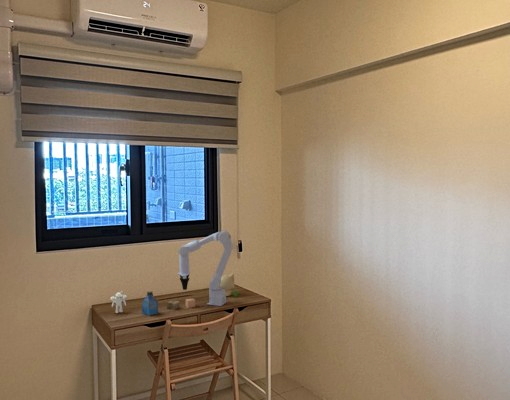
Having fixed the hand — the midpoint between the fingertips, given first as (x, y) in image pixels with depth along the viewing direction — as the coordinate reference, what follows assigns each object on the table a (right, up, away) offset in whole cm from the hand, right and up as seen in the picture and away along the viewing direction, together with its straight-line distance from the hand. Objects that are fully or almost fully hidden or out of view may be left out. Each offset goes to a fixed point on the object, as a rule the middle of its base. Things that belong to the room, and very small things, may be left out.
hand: (184, 288), depth 281 cm
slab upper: (-5, -9, -9) cm, 13 cm away
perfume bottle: (-17, -11, -18) cm, 27 cm away
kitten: (+24, -9, +19) cm, 32 cm away
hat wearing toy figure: (-35, -11, -16) cm, 40 cm away
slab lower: (-6, -11, -9) cm, 15 cm away
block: (+4, -10, -5) cm, 12 cm away
